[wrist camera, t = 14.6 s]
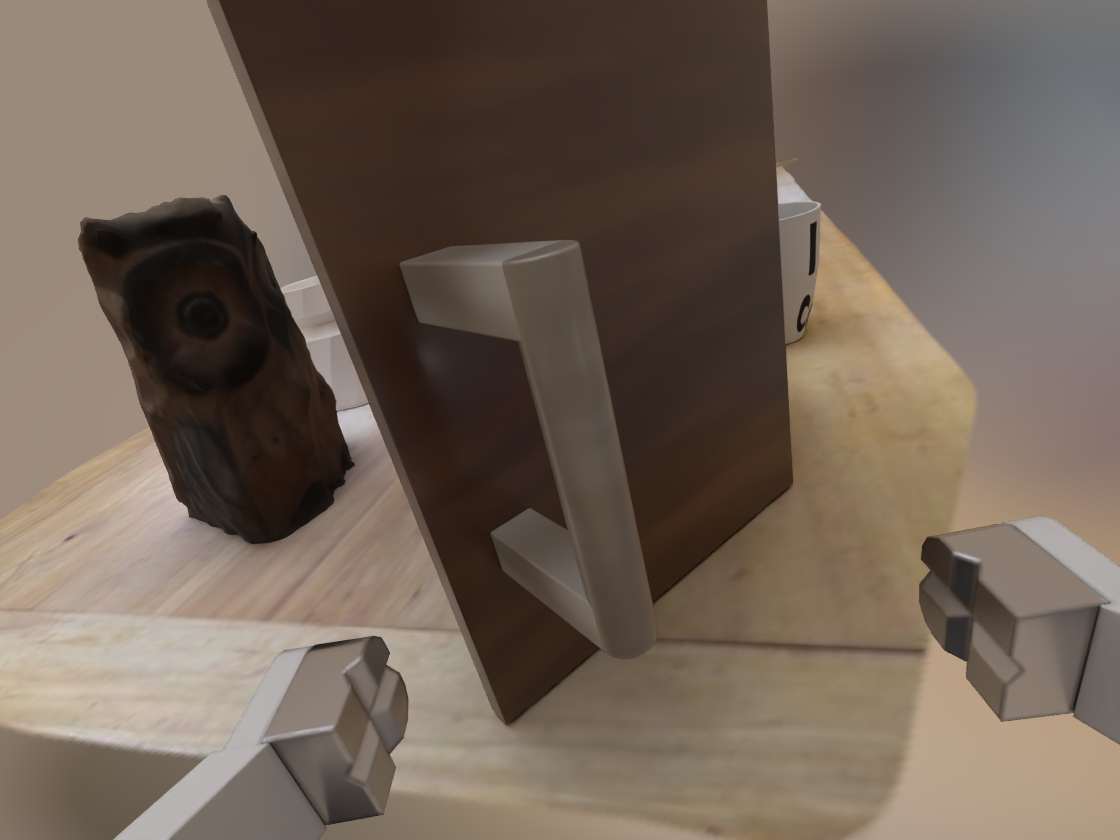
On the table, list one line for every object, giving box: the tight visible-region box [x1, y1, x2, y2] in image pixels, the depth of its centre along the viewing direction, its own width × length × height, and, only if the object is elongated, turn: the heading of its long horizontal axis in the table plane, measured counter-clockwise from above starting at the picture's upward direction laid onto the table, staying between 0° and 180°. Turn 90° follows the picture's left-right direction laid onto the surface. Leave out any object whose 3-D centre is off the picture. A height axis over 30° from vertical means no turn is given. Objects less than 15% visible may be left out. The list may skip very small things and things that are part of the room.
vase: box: [280, 276, 369, 411], centre depth 56 cm, size 9×9×12 cm
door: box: [207, 0, 793, 725], centre depth 18 cm, size 7×18×22 cm, turn 129°
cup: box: [778, 202, 821, 344], centre depth 45 cm, size 8×8×10 cm
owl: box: [78, 195, 355, 544], centre depth 36 cm, size 13×13×20 cm
